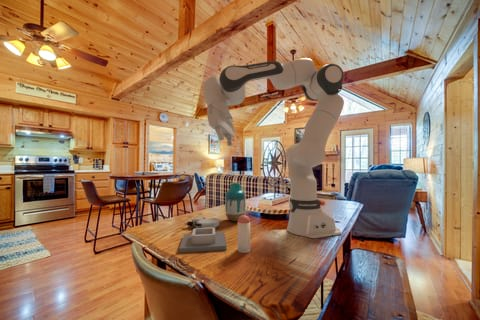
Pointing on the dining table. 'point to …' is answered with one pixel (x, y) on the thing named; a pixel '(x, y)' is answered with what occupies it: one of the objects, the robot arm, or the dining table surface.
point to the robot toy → (203, 222)
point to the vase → (235, 202)
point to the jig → (203, 241)
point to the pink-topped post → (243, 234)
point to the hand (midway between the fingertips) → (226, 142)
